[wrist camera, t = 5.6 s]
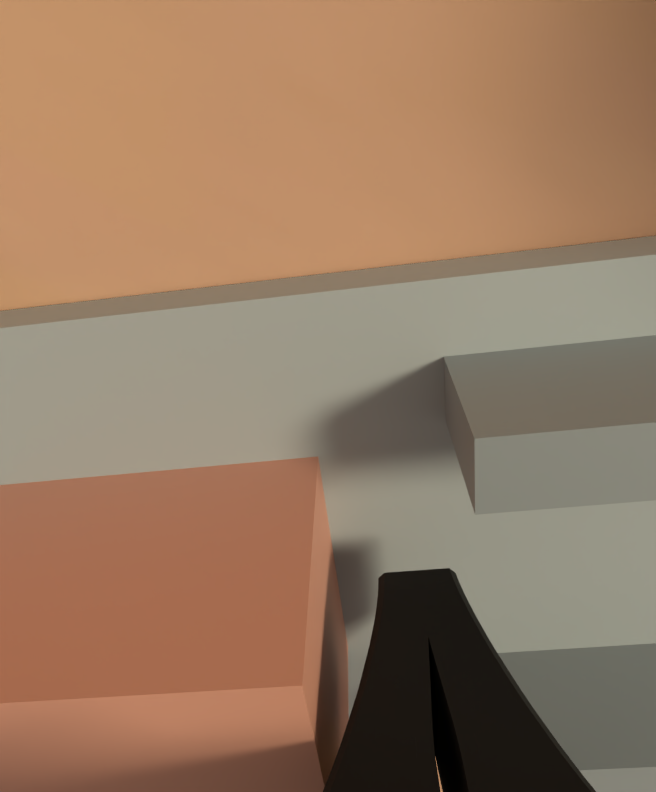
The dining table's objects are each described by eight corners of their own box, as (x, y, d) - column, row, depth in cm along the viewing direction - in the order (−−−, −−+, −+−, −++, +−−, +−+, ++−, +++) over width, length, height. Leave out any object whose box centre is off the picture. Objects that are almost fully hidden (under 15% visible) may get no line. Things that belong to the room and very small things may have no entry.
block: (348, 646, 13) (350, 902, 9) (84, 663, 13) (-29, 913, 9) (317, 456, 10) (302, 685, 6) (0, 485, 11) (-201, 715, 7)
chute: (912, 661, 14) (1076, 825, 11) (37, 711, 16) (-39, 865, 12) (1159, 178, 9) (1601, 224, 6) (-178, 331, 10) (-395, 431, 7)
